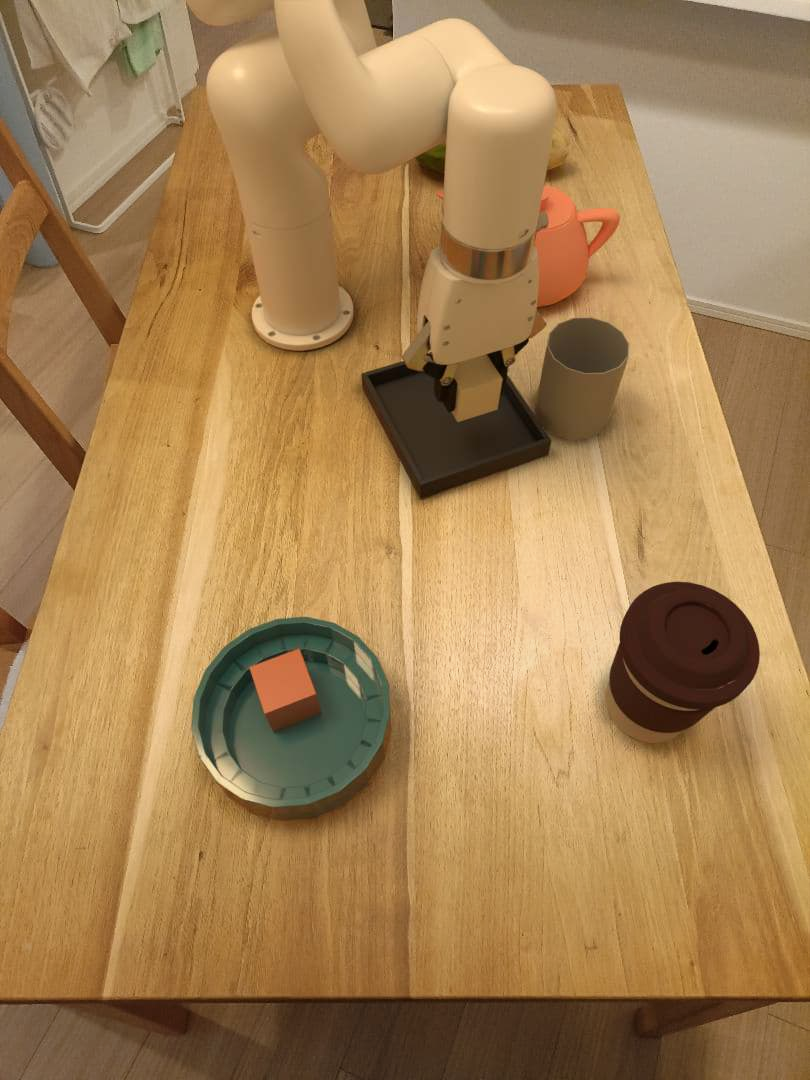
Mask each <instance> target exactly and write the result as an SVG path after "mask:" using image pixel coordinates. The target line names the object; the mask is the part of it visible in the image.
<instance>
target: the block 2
mask: <svg viewBox="0 0 810 1080" xmlns="http://www.w3.org/2000/svg"><path fill="white" fill-rule="evenodd" d="M454 379H455V380H456V382H457V385H458V386H457V393H456V403H455V409H454V411H452V414H453V415H454V417H455V419H456V421H457V422H460V421H463V420H466V419H469V418H473V417H476V416H479V415H482V414H485V413H488V412H492V411H495V410H497V409H498V403H499V397H500V392H501V386H502V380H503V379H502V377H501V375H500V374H499V373H498V371H497V370H496V368H495V366H494V365H493V363H492V362H491V360H490V359H489V357H488V355H487V354H485V355H482V356H479V357H475V358H472V359H468V360H465V361H461V362H459V365H458V367H457V370H456V373H455V375H454Z"/></svg>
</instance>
